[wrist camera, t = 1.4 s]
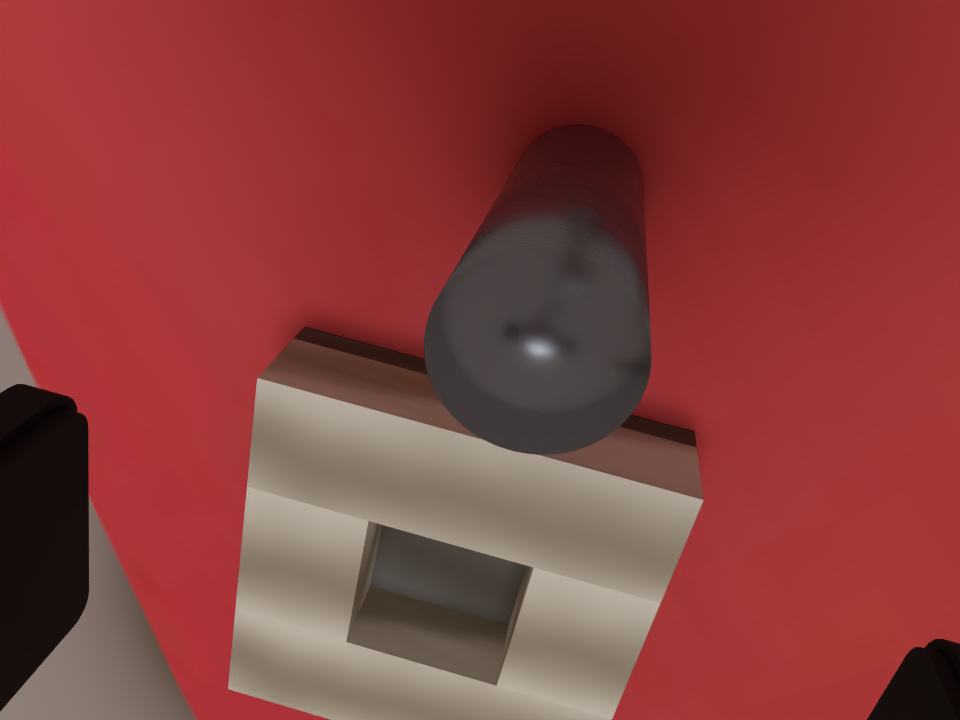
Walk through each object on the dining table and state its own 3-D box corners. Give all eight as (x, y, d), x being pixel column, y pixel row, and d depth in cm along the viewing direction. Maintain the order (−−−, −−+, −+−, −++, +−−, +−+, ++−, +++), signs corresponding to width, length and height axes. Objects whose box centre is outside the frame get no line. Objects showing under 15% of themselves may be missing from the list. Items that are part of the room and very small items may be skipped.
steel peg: (528, 110, 24) (446, 221, 13) (660, 143, 24) (682, 282, 13) (499, 236, 26) (407, 422, 15) (621, 268, 26) (614, 478, 15)
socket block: (304, 327, 29) (257, 377, 25) (694, 432, 28) (703, 499, 24) (269, 615, 35) (228, 688, 31) (586, 707, 34) (580, 793, 31)
